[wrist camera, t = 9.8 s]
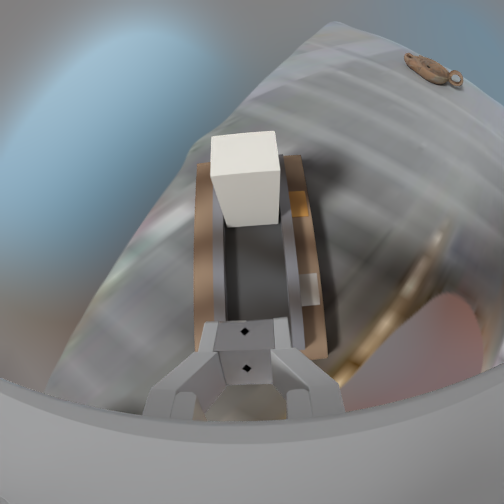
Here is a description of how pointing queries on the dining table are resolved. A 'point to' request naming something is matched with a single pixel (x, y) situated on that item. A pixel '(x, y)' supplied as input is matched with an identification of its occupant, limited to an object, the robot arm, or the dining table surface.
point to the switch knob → (246, 177)
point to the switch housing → (260, 264)
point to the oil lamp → (431, 70)
